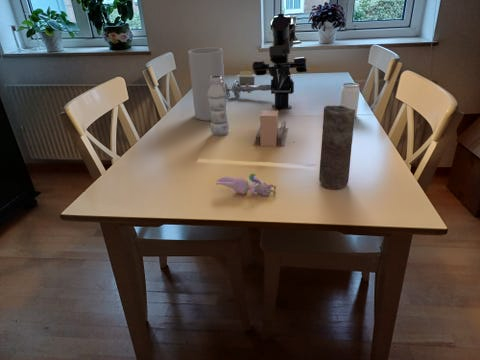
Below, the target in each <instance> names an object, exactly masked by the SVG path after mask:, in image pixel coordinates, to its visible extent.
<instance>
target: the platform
mask: <svg viewBox="0 0 480 360" xmlns="http://www.w3.org/2000/svg"><path fill="white" fill-rule="evenodd" d="M236 76H237V77H239V80H238V81H239V83H240V85H246V84H249V85H255V78H256V77H257V75H256V74H255V73H253V70H252V71H245V70H244V71H240V73H239V74H237V75H236Z"/></svg>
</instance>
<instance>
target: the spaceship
mask: <svg viewBox="0 0 480 360" xmlns="http://www.w3.org/2000/svg"><path fill="white" fill-rule="evenodd" d="M224 83H225V82H224ZM229 85H230V83H227V82H226V83H225V89H226V92H227V96H231V93H230V91H231V92H232V93H233V94H234V95H233V96H235V98H236V99H238V98H240V96H241V92H242V93H247V94H251V93H252V92H254V91H261V92H262V91H263V92H265V91H271V84H260V85H254V84H244V85H241V84H240V82H239V80H238V79H237V80H236V79H235V80H234V82H233V85H232V86H229Z"/></svg>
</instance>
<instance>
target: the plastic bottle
mask: <svg viewBox="0 0 480 360" xmlns="http://www.w3.org/2000/svg"><path fill="white" fill-rule="evenodd" d="M210 83H211V86H210V88H209V90H208V99H209V103H210V109H211V121H210V125H209V127H210V132H211V134H212V136H217V137H221V136H226V135H228V134H229V131H230V126H229V125H230V124H229V121H228V116H227V92H226V89H225V88H224V87H223V85H222V84H221V83H222V77H221V76H211V81H210Z"/></svg>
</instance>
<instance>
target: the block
mask: <svg viewBox="0 0 480 360" xmlns="http://www.w3.org/2000/svg"><path fill="white" fill-rule="evenodd" d="M259 128H260V146H259V147H272V148H273V147H275V148H276V146H277V137H278V128H279V110H262V111H261V113H260V115H259Z"/></svg>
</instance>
